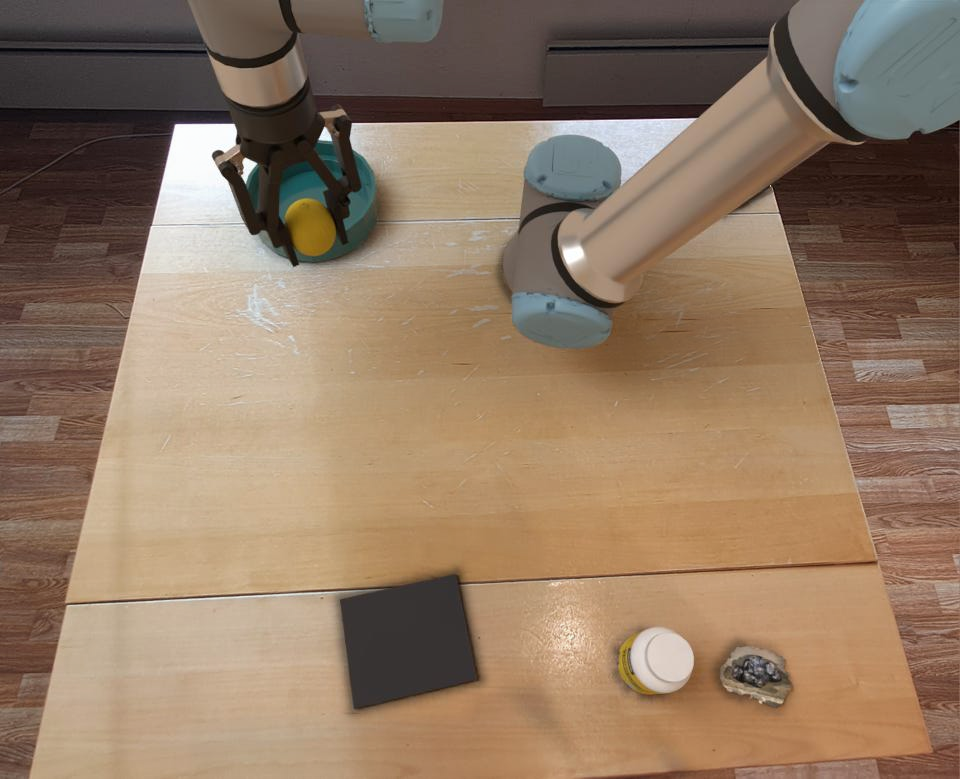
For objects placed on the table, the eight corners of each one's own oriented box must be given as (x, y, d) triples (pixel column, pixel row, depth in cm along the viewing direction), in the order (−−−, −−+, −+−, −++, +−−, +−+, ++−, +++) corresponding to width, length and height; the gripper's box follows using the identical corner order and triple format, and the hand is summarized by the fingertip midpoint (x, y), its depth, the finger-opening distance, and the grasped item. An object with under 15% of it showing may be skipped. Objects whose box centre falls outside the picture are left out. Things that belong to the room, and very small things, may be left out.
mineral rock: (795, 706, 77) (802, 706, 76) (726, 712, 77) (732, 712, 75) (779, 643, 80) (786, 641, 78) (712, 648, 80) (718, 647, 78)
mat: (456, 574, 83) (456, 573, 82) (477, 679, 78) (477, 679, 77) (340, 600, 81) (339, 599, 81) (354, 709, 76) (353, 709, 76)
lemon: (332, 273, 79) (319, 229, 72) (287, 263, 80) (269, 218, 73) (347, 236, 82) (336, 190, 75) (303, 227, 82) (287, 180, 75)
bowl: (369, 158, 111) (365, 131, 106) (388, 252, 103) (384, 228, 98) (249, 175, 109) (239, 149, 104) (259, 273, 101) (249, 250, 96)
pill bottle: (610, 637, 80) (633, 625, 70) (665, 632, 80) (695, 619, 70) (620, 697, 77) (645, 694, 67) (676, 692, 78) (709, 688, 67)
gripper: (343, 21, 63) (373, 194, 84) (146, 90, 58) (229, 256, 79) (380, 71, 60) (401, 237, 81) (176, 148, 56) (254, 303, 77)
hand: (316, 246), depth 80 cm, fingers closed on lemon, 6 cm apart
